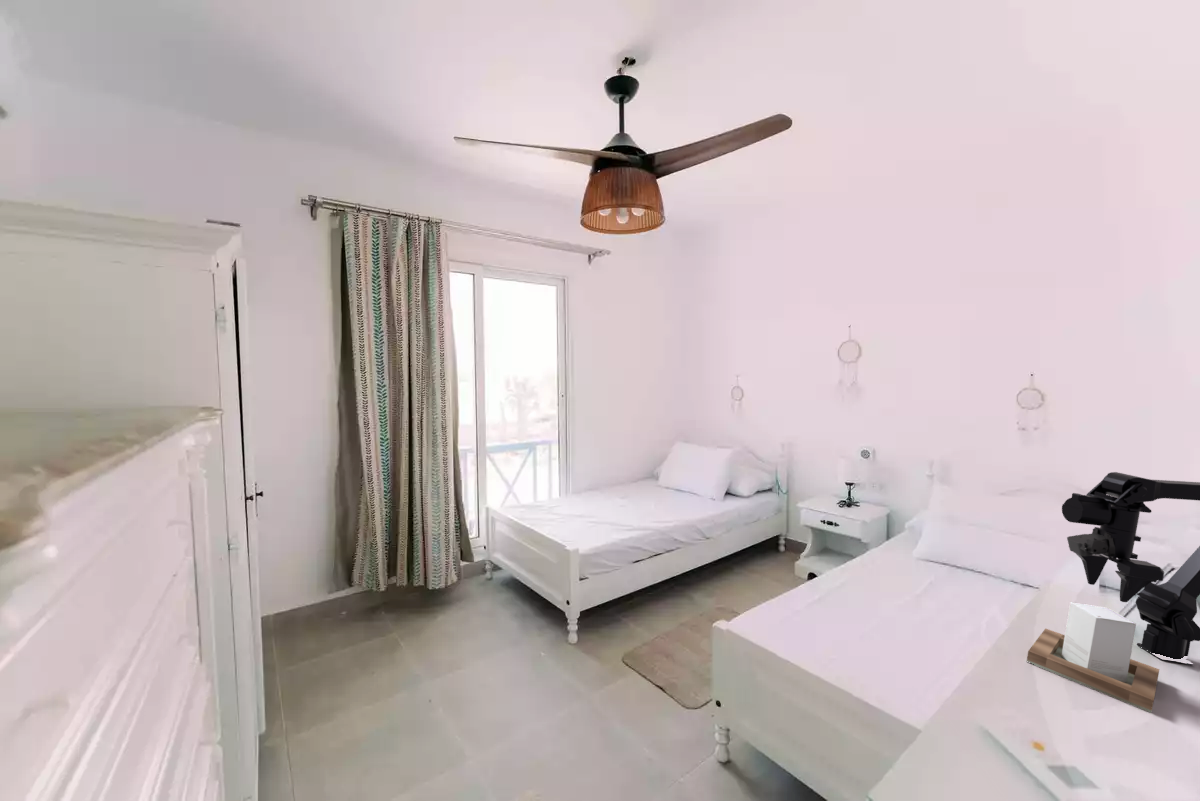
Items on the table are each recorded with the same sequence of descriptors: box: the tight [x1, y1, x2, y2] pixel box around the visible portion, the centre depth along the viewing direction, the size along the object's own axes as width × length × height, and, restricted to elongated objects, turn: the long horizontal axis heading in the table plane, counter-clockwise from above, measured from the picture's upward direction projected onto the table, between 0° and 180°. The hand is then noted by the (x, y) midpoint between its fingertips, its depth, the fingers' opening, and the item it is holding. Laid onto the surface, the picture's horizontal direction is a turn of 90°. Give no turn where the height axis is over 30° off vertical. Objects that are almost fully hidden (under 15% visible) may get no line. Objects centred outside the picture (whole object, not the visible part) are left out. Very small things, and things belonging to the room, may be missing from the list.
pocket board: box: [1026, 628, 1160, 714], centre depth 104 cm, size 18×18×2 cm
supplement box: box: [1061, 601, 1137, 682], centre depth 103 cm, size 7×7×13 cm
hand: (1106, 592), depth 114 cm, fingers open, 9 cm apart
